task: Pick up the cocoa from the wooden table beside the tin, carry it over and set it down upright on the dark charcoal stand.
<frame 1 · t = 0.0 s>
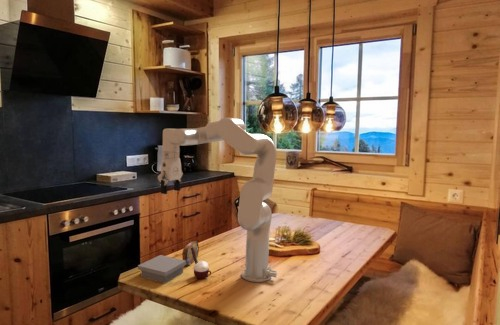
hand: (170, 192, 169), 31 cm above the table, tool pointing down, fingers open, 9 cm apart
stand: (162, 274, 151), on the table
tin: (190, 261, 167), on the table
cocoa: (200, 277, 150), on the table
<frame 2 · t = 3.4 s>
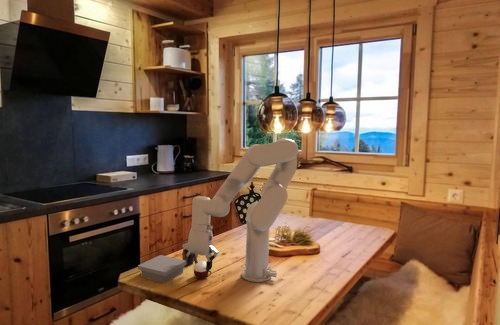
hand: (199, 267, 150), 4 cm above the table, tool pointing down, fingers open, 8 cm apart
cocoa: (200, 277, 150), on the table, touching gripper
everything else where it was.
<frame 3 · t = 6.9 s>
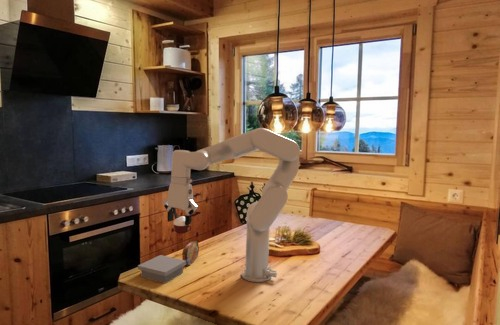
hand: (179, 222, 149), 23 cm above the table, tool pointing down, fingers closed on cocoa, 8 cm apart
cocoa: (180, 232, 149), point 18 cm above the table, touching gripper
everything else where it was.
when the fingers open (10 cm above the table, at t = 10.3 s): cocoa stays where it is, resting on stand.
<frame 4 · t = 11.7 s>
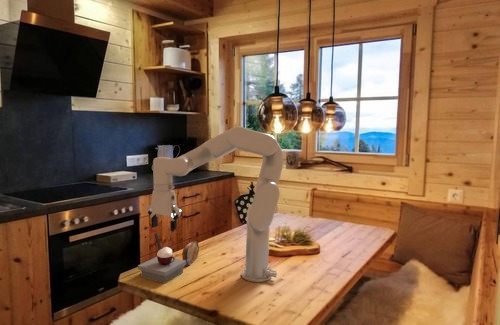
hand: (164, 228, 149), 20 cm above the table, tool pointing down, fingers open, 9 cm apart
cocoa: (164, 263, 151), point 5 cm above the table, touching stand
everything else where it was.
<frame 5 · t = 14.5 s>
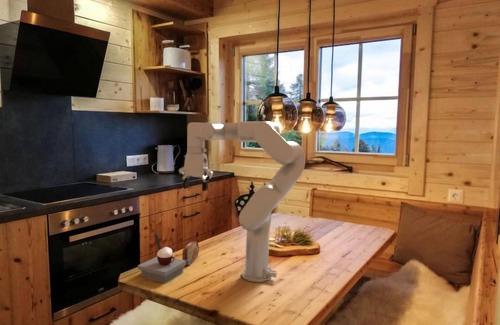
hand: (195, 189, 160), 34 cm above the table, tool pointing down, fingers open, 9 cm apart
nothing on the table moved.
at the end: cocoa inside the target area on the stand (0.8 cm from its centre), point 4.8 cm above the stand's base; cocoa tilted 0°; the gripper is holding nothing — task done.
